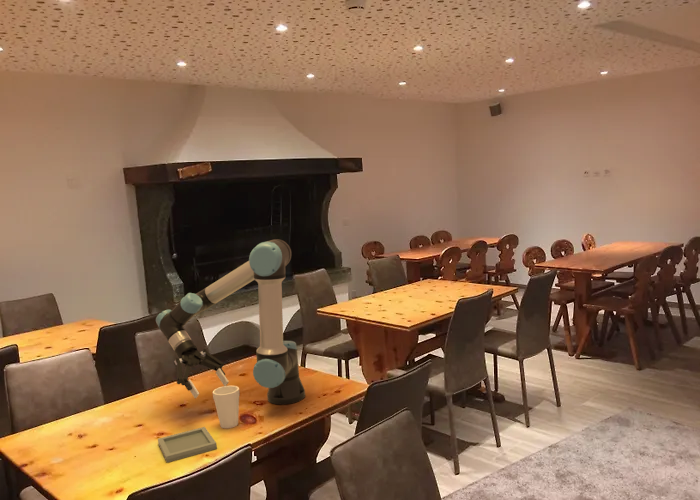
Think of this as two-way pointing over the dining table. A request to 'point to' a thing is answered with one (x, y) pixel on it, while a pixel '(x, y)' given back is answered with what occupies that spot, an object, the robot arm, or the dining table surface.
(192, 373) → the dining table surface
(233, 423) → the foam cup
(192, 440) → the tray
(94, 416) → the dining table surface
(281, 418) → the dining table surface
